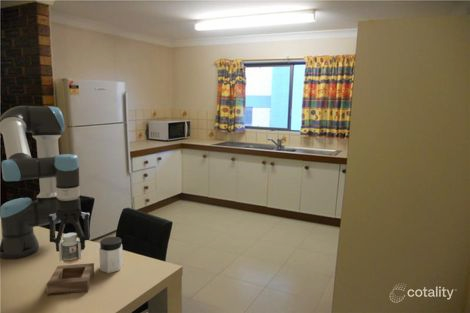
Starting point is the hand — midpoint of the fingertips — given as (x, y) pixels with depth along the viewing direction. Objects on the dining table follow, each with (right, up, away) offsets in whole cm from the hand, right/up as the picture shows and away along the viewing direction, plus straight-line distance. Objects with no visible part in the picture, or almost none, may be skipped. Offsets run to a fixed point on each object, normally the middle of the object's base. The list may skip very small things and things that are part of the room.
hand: (71, 258), depth 120 cm
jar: (+9, -9, +15) cm, 19 cm away
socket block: (-1, -10, +2) cm, 10 cm away
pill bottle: (0, -1, 0) cm, 1 cm away
